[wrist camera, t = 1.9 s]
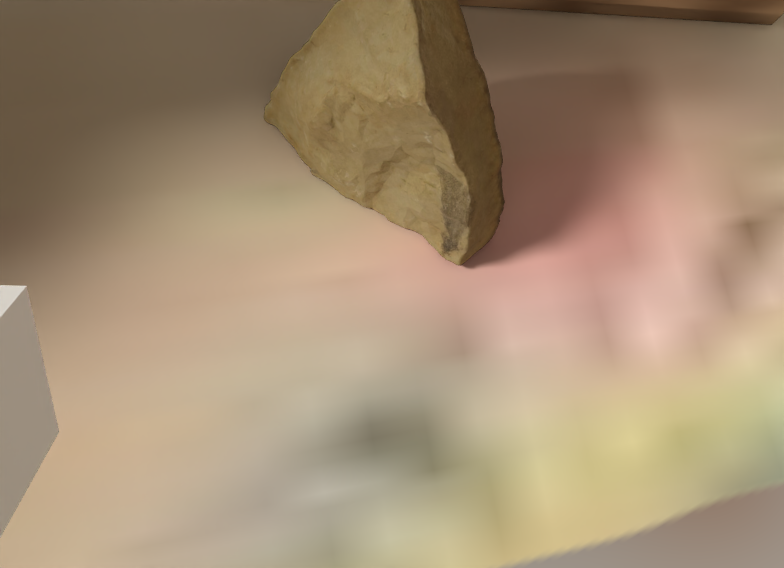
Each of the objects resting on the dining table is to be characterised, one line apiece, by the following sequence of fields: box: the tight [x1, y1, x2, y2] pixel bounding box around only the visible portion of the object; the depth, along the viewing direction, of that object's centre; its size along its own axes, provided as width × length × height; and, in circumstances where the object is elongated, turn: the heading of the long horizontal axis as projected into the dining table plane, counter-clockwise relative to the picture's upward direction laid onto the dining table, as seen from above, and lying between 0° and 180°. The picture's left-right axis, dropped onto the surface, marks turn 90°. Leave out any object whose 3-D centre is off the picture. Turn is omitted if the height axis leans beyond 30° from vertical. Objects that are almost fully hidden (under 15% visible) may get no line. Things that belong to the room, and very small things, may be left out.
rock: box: [264, 0, 505, 265], centre depth 28 cm, size 11×9×10 cm
